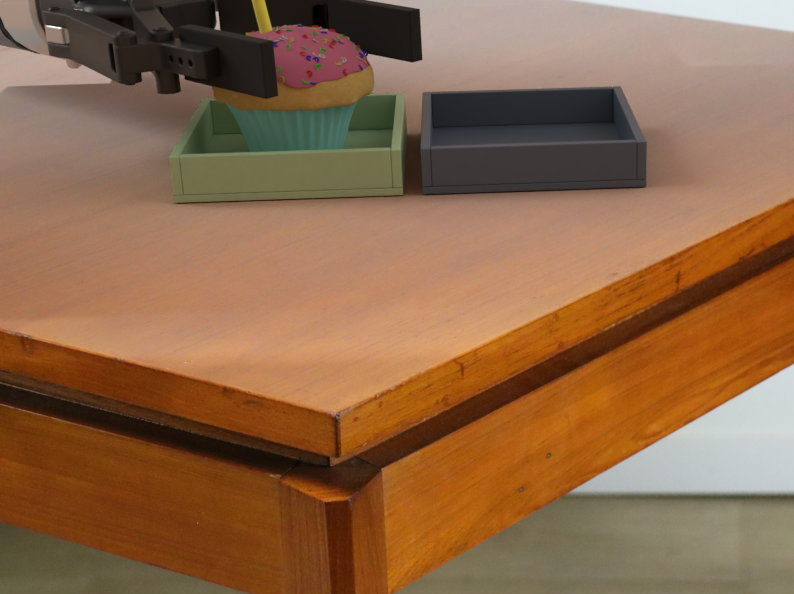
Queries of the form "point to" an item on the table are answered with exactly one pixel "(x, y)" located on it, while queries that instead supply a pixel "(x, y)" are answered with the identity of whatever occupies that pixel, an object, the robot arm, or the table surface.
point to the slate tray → (530, 140)
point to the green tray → (291, 158)
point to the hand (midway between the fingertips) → (345, 52)
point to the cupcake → (302, 89)
